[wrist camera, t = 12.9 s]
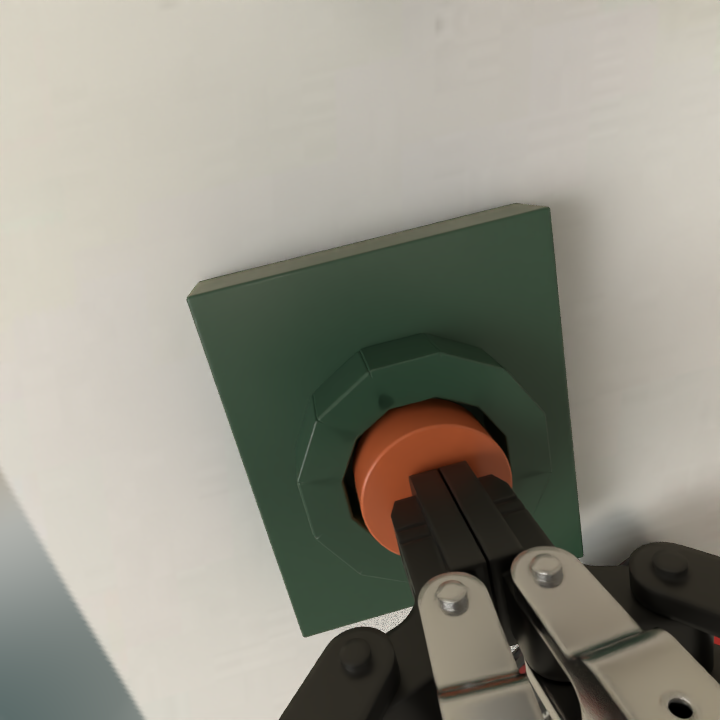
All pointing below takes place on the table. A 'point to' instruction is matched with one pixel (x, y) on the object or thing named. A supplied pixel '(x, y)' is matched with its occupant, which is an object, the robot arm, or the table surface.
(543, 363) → the green button base
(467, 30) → the table surface
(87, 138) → the table surface
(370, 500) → the button
